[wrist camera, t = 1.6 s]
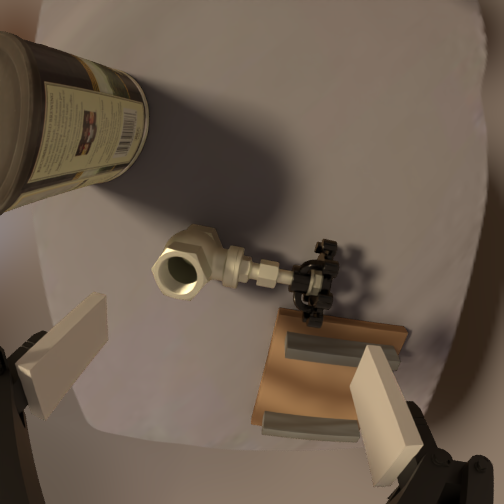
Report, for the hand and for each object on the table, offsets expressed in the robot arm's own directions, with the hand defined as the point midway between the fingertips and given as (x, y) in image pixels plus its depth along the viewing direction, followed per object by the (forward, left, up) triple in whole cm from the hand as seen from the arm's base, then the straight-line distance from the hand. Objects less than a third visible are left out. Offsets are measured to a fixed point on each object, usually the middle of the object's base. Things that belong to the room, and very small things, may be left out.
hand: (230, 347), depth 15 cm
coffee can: (-9, -15, -12) cm, 22 cm away
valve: (-1, 0, -12) cm, 12 cm away
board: (+11, +9, -12) cm, 18 cm away
